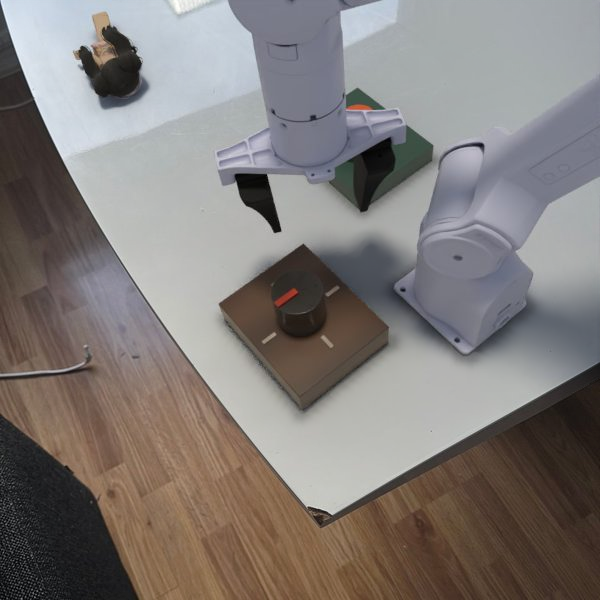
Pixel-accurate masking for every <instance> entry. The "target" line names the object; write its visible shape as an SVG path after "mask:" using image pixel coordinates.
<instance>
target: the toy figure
mask: <svg viewBox="0 0 600 600" xmlns="http://www.w3.org/2000/svg"><path fill="white" fill-rule="evenodd" d="M91 19H92V22H93V25H94V26H93V27H94V29H95V32H96V37H97V41H98V42H95V43H92V44H91V45H90V47H91V49H92V50H91V49H90V47H88V46H87V45H85V44H83V45H80V47H79V49H77V50H75V49H73V50H72V53H73V56H74V57H75V60H77V61H81V66H82V69H83V70H84V73H85V75H86V76H87V77H89V78H90V79H91V80H92V81H91V84H92V86H93V90H94V93H95V94H96V95H98V98H100V99H104V98H108V97H110V96H112V97H115V98H118V99H122V100H125V99H128V98H130V97H131V96H132V95H134V94H135V93H136V92H138V90H140V88H141V86H142V82H143V81H142V76H141V74H140V70H141V69H142V65H143V58H142V57H141V56H139V55H138V54H137V52H138V50H139V49H138V47H136V46H135V45H134V44H133V42H131V39H130V38H129V37H128V36H126V35H125V34H124V33H122V32H120V31H119V30H118V28H117V27H116V26H115V25H112V24H111V20H110V18H109V14H108V12H107V11H102V12H101V11H100V12H98V13H94V14H92V15H91ZM92 51H93V52H92Z"/></svg>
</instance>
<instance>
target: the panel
mask: <svg viewBox="0 0 600 600" xmlns="http://www.w3.org/2000/svg"><path fill="white" fill-rule="evenodd" d="M292 270H305V271H309V272H311V273H313V274H314V275H316V276H317V277H318V278H319V280H320V281H321V283H322V286H323V292H324V300H325V307H326V319H325V322H324V323H323V325H322V327H321V328H320V329H319V330H318V331H316V332H315V333H313V334H311V335H308V336H302V337H301V336H293V335H290V334H288V333H286V332H285V331H284V330H283V329H282V328H281V327H280V326H279V324H278V321H277V317H276V314H275V310H274V306H273V302H272V298H271V289H272V286H273V284H274V282H275V281H276V279H277V278H278V277H280V276H281V275H282V274H284V273H286V272H288V271H292ZM218 306H219V309H220V312H221V314H222V317H223V319H224V321H225V322H226V324H228V325H229V326H230V328H231V329H232V330H233V331H234V332H235V333H236V335H237V336H238V337H239V338H240V339H241V340H242V342H243V343H244V344H245V345H246V346H247V347H248V349H249V350H250V351H251V352H252V354H253V355H254V356H255V357H256V358H257V359H258V360H259V361H260V362H261V364H262V365H263V366H264V368H266V370H267V371H268V372H269V373H270V374H271V375H272V376H273V378H274V379H275V380H276V381H277V382H278V383H279V385H280V386H281V387H282V389H284V391H285V392H286V393H287V394H288V395H289V397H290V398H291V399H292V400H293V401H294V403H296V404H297V405H298V407H299V408H300V409H301V410H305V409H306V408H307V407H309V406H310V405H311V404H313V403H314V402H315V401H316V400H318V399H319V398H320V397H321V396H323V394H325V393H326V392H327V391H329V390H330V389H331V388H333V387H334V386H335V385H336V384H338V383H339V382H340V381H341V380H343V379H344V378H345V377H347V376H348V375H349V374H350V373H352V372H353V371H354V370H355V369H356V368H358V367H359V366H360V365H362V364H363V363H364V362H366V361H367V360H368V359H369V358H371V357H372V356H373V355H374V354H376V353H377V352H378V351H380V349H382V348H383V347H384V346H386V345H387V344H388V343H389V336H390V327H389V325H388V324H386V322H385V321H384V320H383V319H381V318H380V317H379V315H377V314H376V313H375V312H374V310H372V308H370V307H369V306H368V305H367V304H366V303H365V302H364V301H363V300H362V299H361V298H360V297H359V296H358V295H357V294H356V293H355V292H353V290H352V289H350V287H349V286H347V284H345V283H344V281H342V280H341V278H339V276H337V274H336V273H334V271H332V270H331V269H330V268H329V267H328V266H327V265H326V264H325V263H324V262H323V261H322V260H321V259H320V258H319V257H318V256H317V255H316V254H315V253H314V252H313V251H312V250H311V249H310V248H309V247H308V246H307V245H306V244H305V243H302V244H300V245H298V246H297V247H296V248H295V249H293V250H292V251H290V252H289V253H288V254H286V255H285V256H283V257H282V258H281V259H279V260H278V261H277V262H275V263H274V264H271V266H269V267H268V268H266V269H265V270H264V271H262V272H260V274H258V275H257V276H255V277H254V278H253V279H251V280H249V281H248V282H247V283H246V284H244V285H243V286H241V287H240V288H238V289H237V290H235V291H234V292H233V293H231V294H230V295H228V296H227V297H226V298H224V299H223V300H221V301H220V302H219V303H218Z"/></svg>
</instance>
